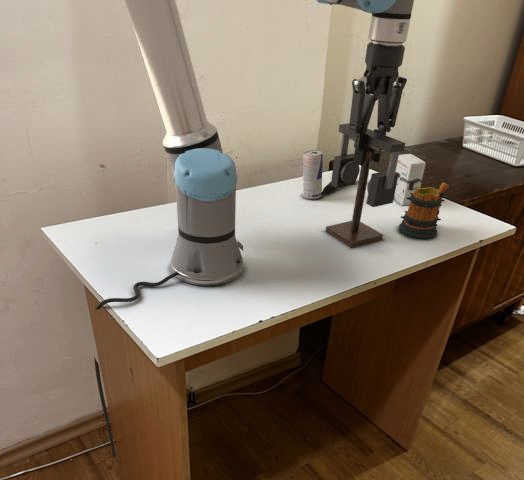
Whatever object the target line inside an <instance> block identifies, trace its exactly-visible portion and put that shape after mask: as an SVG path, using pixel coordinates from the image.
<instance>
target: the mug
mask: <svg viewBox="0 0 524 480" xmlns="http://www.w3.org/2000/svg"><path fill="white" fill-rule="evenodd" d="M449 187H450V185H449V184H448V183H446V182H442V183H441V184H440V185H439V188H435V187H433V186H429V187H420V188H418V189H417V188H416V189H415V191H414V193H410V194H411V197H407V198H406V199H408V200H410V201H411V203H410V205H408V209H407V210H404V214H403V215H400V218H401V219H402V220H401V223H399V226H398V230H397V231H398V232H399V234H401V235H402V236H403V237H407V238H410V239H412V240H419V241H429V240H433V239H435V238H436V237H437V235H438V234H437V233H438V229H437V227H438V222H439V221H441V220H442V218H439V214H440V208H441V207H442V206H443V205H442V202H445V199H443V198H444V197H445V194H446V190H448V188H449Z"/></svg>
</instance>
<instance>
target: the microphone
mask: <svg viewBox="0 0 524 480" xmlns="http://www.w3.org/2000/svg"><path fill="white" fill-rule="evenodd" d="M337 189H338V188H336V187H334V186H332V185H331V181H330V182H329V183H327V184H326V185H325V186H324V187H323V188H322V195H321V197H323V196H325V195H329V194H331V193H333V192H334V191H335V190H337Z"/></svg>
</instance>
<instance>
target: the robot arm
mask: <svg viewBox="0 0 524 480" xmlns="http://www.w3.org/2000/svg"><path fill="white" fill-rule="evenodd" d="M124 1H125V5H126V8H127V12H128V14H129V17H130V21H131V24H132V27H133V31H134V33H135V36H136V39H137V43H138V47H139V49H140V51H141V55H142V58H143V61H144V65H145V68H146V71H147V74H148V77H149V81H150V84H151V87H152V90H153V92H154V96H155V99H156V102H157V105H158V108H159V111H160V116H161V118H162V120H163V124H164V127H165V130H166V134H165V136H164V138H163V140H162V145H163V148H164V151H165V154H166V157H167V160H168V163H169V167H170V169H171V170H170V171H171V173H172V176H173V182H174V191H175V196H176V197H175V199H176V215H177V232H178V233H177V239H176V242H175V246H174V248H173V252H172V256H171V260H170V263H171V264H170V265H171V272H172V273H171V274H169V275H167V276H166V277H164V278H163V279H161V280H160V281H157V282H149V281H138V282H136V283H134V284H133V287H132V288H133V291H134V296H131V297H125V298H124V297H109V298H106V299H103V300H102V301H100V302H99V303H98V304H97V305H96V307H95V308H94V309H95V310H100V309H101V308H102V307H104V306H105V305H107V304H110V303H131V302H134V301H137V300H138V299H139V298H140V292H139V289H138V288H139V287H141V286H144V287H159V286H162V285H164V284H165V283H167V282H169V281H170V280H172V279H173V278H177V279H179V280H180V281H182V282H183V283H184V282H185V283H187V284H190V285H194V286H203V287H210V286H211V287H212V286H213V287H214V286H221V285H224V284H228V283H230V282H233V281H235V280H236V279H238V278H239V277H241V275H242V273H243V270H244V259H243V256H242V252H244V245H243V244H242V243H241V242H240V241H239V240H237V236H236V204H237V203H236V202H237V200H236V199H237V184H238V183H237V182H238V174H237V166H236V162H235V161H234V159H233V158H232V157H231V156H230V155H229V154H227V153H226V152H224V151H223V148H222V144H221V139H220V136H219V132H218V129H217V127H216V125H214V124H213V123H212V122H209V121H208V118H207V115H206V111H205V108H204V104H203V100H202V96H201V93H200V89H199V85H198V81H197V78H196V74H195V73H196V72H195V69H194V66H193V62H192V59H191V55H190V51H189V48H188V43H187V40H186V36H185V32H184V28H183V24H182V21H181V17H180V15H179V14H180V13H179V9H178V6H177V1H176V0H124ZM315 1H316V2H317V3H318V4H324V5H329V6H332V5H337V6H338V5H339V6H344V7H348V8H351V9H356V10H359V11H362V12H364V13H368V14H371V19H370V25H369V30H368V40H369V41H370V42H368V44H367V45H366V50H365V56H364V57H365V58H364V63H365V65H366V69H365V71H364V72H363V75H362V76H361V77H360V78H354V79H353V80H352V81H351V86H352V98H351V107H350V114H349V115H350V116H349V129H351V130H353V131H355V132H356V135H355V141H353V142H354V143H353V148H354V153H353V154H354V159H353V162H355V163H357V164H359V166H361V165H364V159H365V153H366V147H367V141H368V136H369V134H366V131H367V129H369V128H368V127H369V124H370V121H371V118H372V114H373V112H374V109H375V105H376V102H377V120H376V121H377V123H376V128H374V129H373V131H375V132H378V133H381V134H383V135H386V136H387V133H390V132H391V131H392V129H393V128H394V127H396V122H397V119H398V113H399V110H400V104H401V99H402V95H403V92H404V88H405V87H406V84H407V81H408V78H407V77H404V76H401V75H399V68H400V67H401V66H402V65H403V61H404V56H405V52H406V47H405V45H404V43H406V42H407V39H408V34H409V33H408V32H409V29H410V24H411V23H410V22H411V18H412V13H413V8H414V3H415V0H315ZM361 126H362V127H361ZM381 155H382V151H381V152H380V153H377V154H374V153H372V158H371V162H374V163H380V161H381ZM241 251H242V252H241ZM93 361H94V370H95V376H96V383H97V389H98V393H99V394H98V395H99V398H100V403H101V407H102V412H103V416H104V421H105V426H106V429H107V434H108V439H109V444H110V450H111V455H112V458H116V457H117V454H116V447H115V442H114V437H113V433H112V432H113V431H112V427H111V423H110V418H109V414H108V409H107V405H106V399H105V395H104V390H103V383H102V378H101V370H100V364H99V363H98V361H97V359H96V357H95V356H94V357H93Z"/></svg>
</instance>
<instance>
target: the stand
mask: <svg viewBox="0 0 524 480" xmlns="http://www.w3.org/2000/svg"><path fill="white" fill-rule="evenodd" d="M380 152H381V153H382V151H377V150H375V149H372V148H370V147H368V146H367V147H366V153H365V159H364V165H360V171H359V175H358V182H357V188H356V193H355V200H354V206H353V213H352V217H351V220H348V221H345V222H340V223H336V224H332V225H326V227H325V233H326V234H329V235H330V236H331V237H334V238H335V239H336V240H338V241H340V242H341V243H343V244H344V245H345V246H347V247H349V248H355V247H359V246H363V245H368V244H370V243H373V242H374V243H375V242H378V241H382V240H383V237H384V234H383V233H382V232H379V231H378V230H376V229H375V228H372V227H370V226H369V225H367V224H366V223H364V222H362V221H361V219H362V213H363V207H364V203H365V202H364V201H365V196H366V192H367V186H368V180H369V175H370V168H371V164H372V163H371V162H372V160H371V158H372V153H374V154H377V153H380Z"/></svg>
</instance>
